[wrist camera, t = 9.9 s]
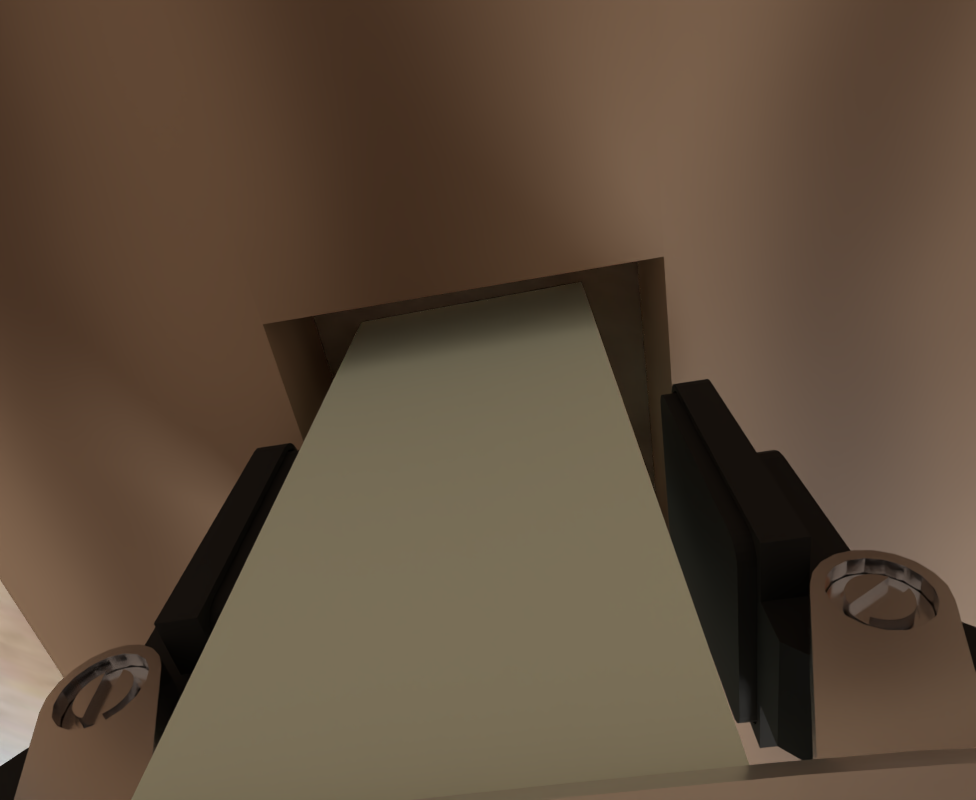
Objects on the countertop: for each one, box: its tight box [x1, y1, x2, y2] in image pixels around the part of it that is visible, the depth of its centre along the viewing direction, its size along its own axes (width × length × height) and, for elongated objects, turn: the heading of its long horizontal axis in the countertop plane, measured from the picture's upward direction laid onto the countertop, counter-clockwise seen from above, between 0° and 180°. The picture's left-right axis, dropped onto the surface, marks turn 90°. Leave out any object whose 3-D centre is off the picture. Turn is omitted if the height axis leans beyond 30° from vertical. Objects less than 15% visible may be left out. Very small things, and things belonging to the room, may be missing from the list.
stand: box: [0, 0, 976, 765], centre depth 13 cm, size 20×20×2 cm
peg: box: [131, 282, 749, 800], centre depth 10 cm, size 4×4×10 cm
